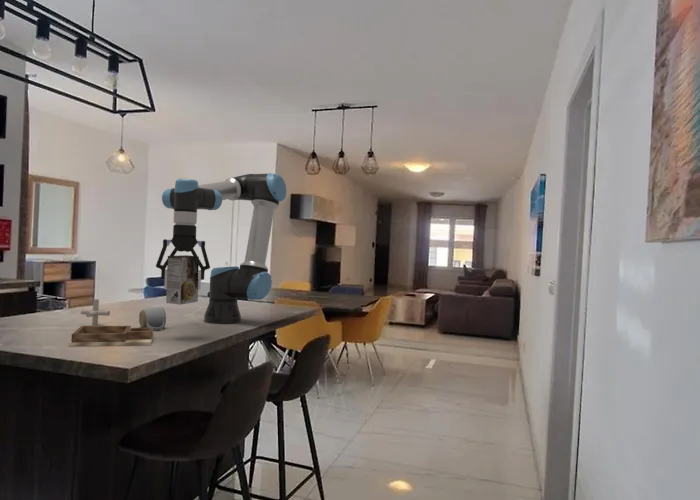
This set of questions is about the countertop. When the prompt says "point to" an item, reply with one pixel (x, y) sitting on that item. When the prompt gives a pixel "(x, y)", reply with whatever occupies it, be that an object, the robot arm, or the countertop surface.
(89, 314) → the pipe connector
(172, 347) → the countertop surface
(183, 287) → the coffee box
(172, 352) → the countertop surface
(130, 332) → the board
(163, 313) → the ceramic mug
